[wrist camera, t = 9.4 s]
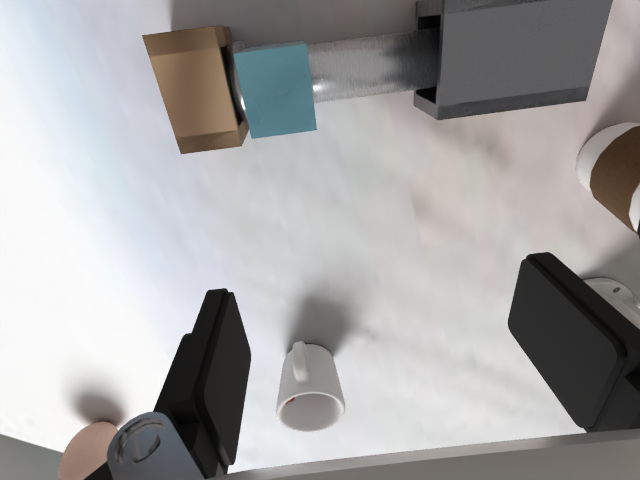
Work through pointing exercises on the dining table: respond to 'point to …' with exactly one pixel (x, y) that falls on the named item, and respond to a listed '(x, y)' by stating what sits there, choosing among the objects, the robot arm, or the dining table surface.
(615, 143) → the coffee cup
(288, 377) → the cup
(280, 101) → the plug
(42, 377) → the dining table surface
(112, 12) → the dining table surface
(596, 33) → the sleeve
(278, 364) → the dining table surface
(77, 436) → the egg
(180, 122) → the cardboard box
